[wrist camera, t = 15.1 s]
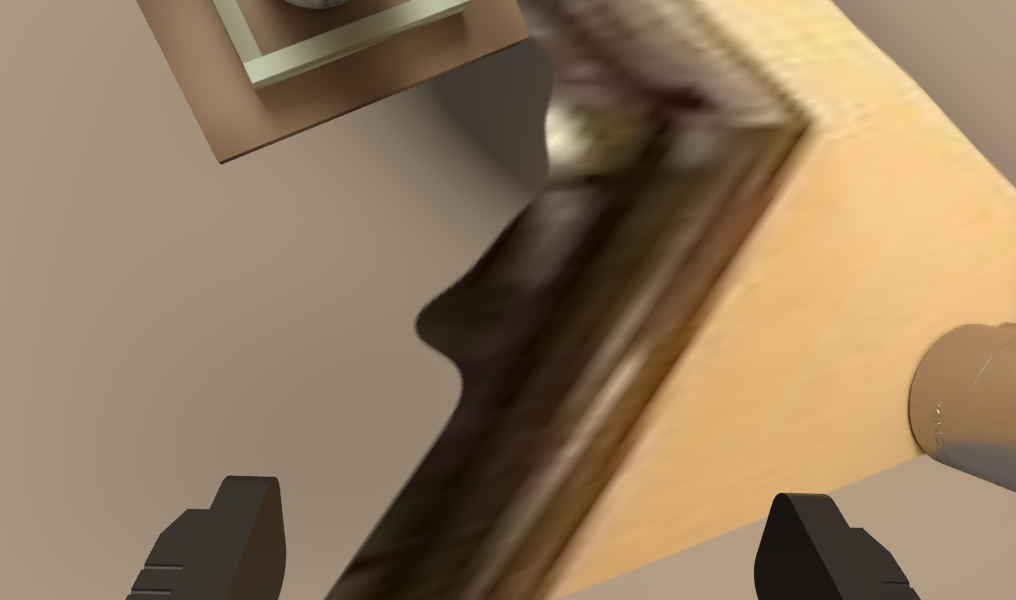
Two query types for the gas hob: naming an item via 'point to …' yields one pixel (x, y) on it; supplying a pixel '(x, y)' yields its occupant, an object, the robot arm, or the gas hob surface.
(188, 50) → the board
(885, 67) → the gas hob surface
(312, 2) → the beverage can
